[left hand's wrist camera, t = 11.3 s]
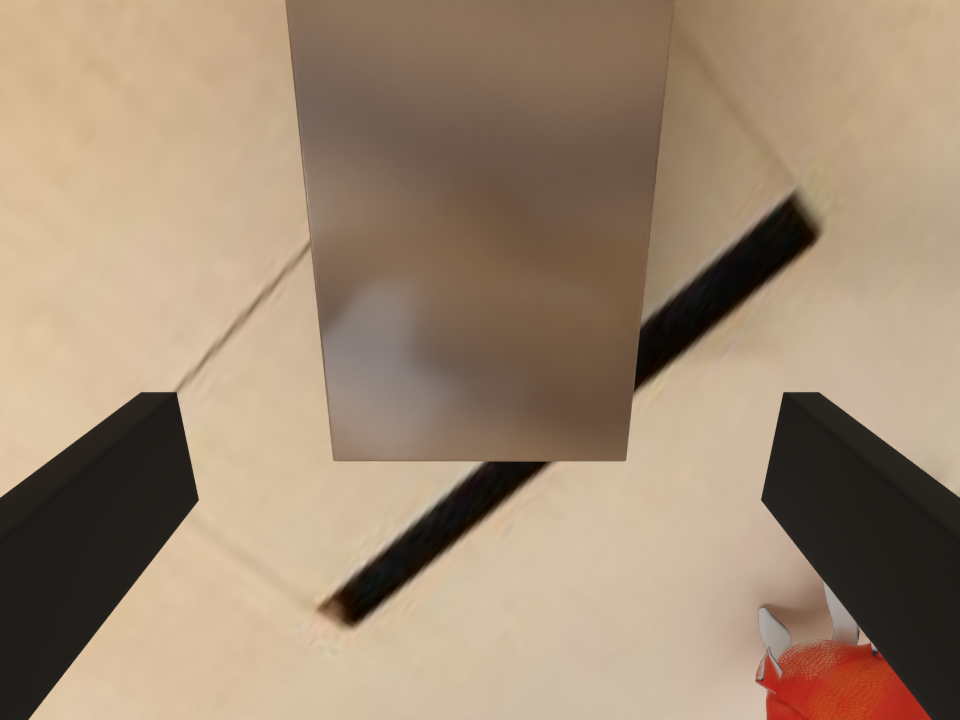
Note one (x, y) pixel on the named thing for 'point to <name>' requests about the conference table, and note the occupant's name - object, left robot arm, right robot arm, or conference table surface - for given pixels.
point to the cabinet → (479, 219)
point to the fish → (830, 675)
